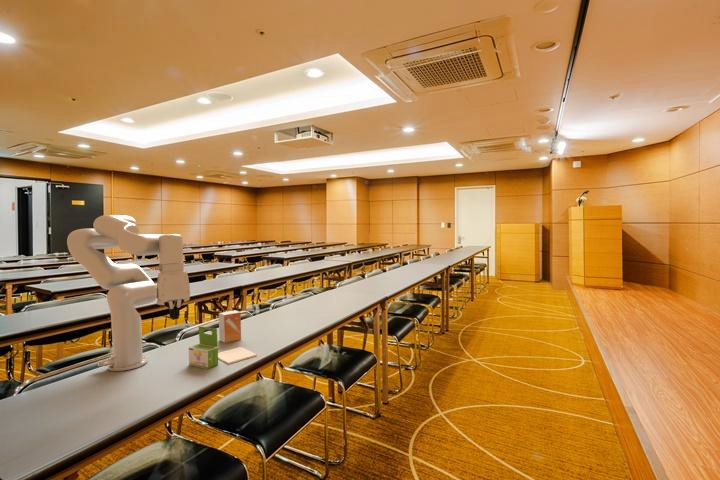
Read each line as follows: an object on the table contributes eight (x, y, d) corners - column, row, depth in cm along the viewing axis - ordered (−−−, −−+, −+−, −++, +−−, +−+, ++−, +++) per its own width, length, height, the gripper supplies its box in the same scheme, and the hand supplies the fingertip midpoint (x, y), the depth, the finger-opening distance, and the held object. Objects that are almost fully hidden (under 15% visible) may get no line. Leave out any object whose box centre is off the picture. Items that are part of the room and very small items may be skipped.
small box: (224, 343, 160) (223, 315, 159) (219, 340, 164) (218, 312, 164) (241, 339, 165) (240, 311, 165) (235, 336, 170) (235, 309, 170)
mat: (228, 364, 134) (228, 362, 134) (213, 355, 144) (213, 354, 144) (256, 355, 143) (256, 354, 143) (240, 348, 153) (240, 346, 152)
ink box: (188, 365, 134) (187, 329, 134) (199, 360, 139) (198, 325, 139) (207, 369, 130) (206, 332, 129) (219, 364, 135) (217, 328, 134)
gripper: (151, 271, 118) (154, 325, 119) (197, 266, 129) (199, 316, 129) (145, 269, 123) (148, 321, 124) (189, 265, 134) (192, 313, 135)
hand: (174, 318), depth 127 cm, fingers closed
